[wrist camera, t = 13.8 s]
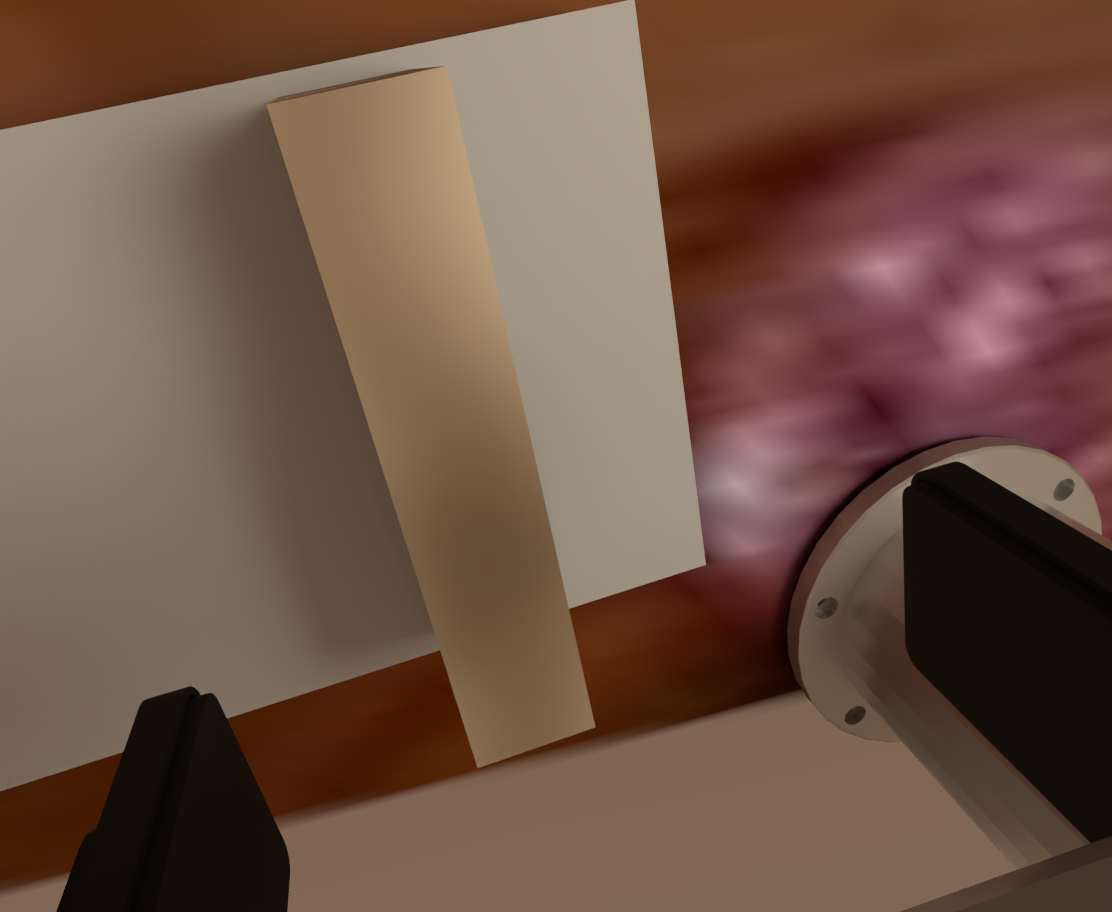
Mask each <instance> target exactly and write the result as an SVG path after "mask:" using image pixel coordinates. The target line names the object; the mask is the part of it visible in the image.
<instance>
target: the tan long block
mask: <svg viewBox="0 0 1112 912" xmlns="http://www.w3.org/2000/svg"><path fill="white" fill-rule="evenodd" d="M266 105H267V109H268V112H269V115H270V118H271V121H272V124H273V127H274V131H275V134H276V137H277V140H278V143H279V146H280V149H281V153H282V156H283V159H284V162H285V165H286V168H287V171H288V174H289V178H290V181H291V184H292V187H293V190H294V193H295V196H296V200H297V203H298V206H299V209H300V212H301V215H302V218H303V222H304V225H305V228H306V231H307V234H308V237H309V240H310V244H311V247H312V250H313V253H314V256H315V259H316V262H317V265H318V269H319V272H320V275H321V278H322V281H323V284H324V287H325V291H326V294H327V297H328V300H329V303H330V306H331V309H332V313H333V316H334V319H335V322H336V325H337V328H338V331H339V334H340V338H341V341H342V344H343V347H344V350H345V353H346V356H347V360H348V363H349V366H350V369H351V372H352V375H353V378H354V382H355V385H356V388H357V391H358V394H359V397H360V400H361V404H362V407H363V410H364V413H365V416H366V419H367V422H368V425H369V429H370V432H371V435H372V438H373V441H374V444H375V447H376V451H377V454H378V457H379V460H380V463H381V466H382V469H383V473H384V476H385V479H386V482H387V485H388V488H389V491H390V495H391V498H392V501H393V504H394V507H395V510H396V513H397V516H398V520H399V523H400V526H401V529H402V532H403V535H404V538H405V542H406V545H407V548H408V551H409V554H410V557H411V560H412V564H413V567H414V570H415V573H416V576H417V579H418V582H419V585H420V589H421V592H422V595H423V598H424V601H425V604H426V607H427V611H428V614H429V617H430V620H431V623H432V626H433V629H434V633H435V636H436V639H437V642H438V645H439V648H440V651H441V655H442V658H443V661H444V664H445V667H446V670H447V673H448V676H449V680H450V683H451V686H452V689H453V692H454V695H455V698H456V702H457V705H458V708H459V711H460V714H461V717H462V720H463V724H464V727H465V730H466V733H467V736H468V739H469V742H470V745H471V749H472V752H473V755H474V758H475V761H476V764H477V767H478V768H480V767H483V766H485V765H488V764H491V763H494V762H497V761H500V760H503V759H506V758H509V757H511V756H514V755H517V754H520V753H523V752H526V751H529V750H532V749H534V748H537V747H540V746H543V745H546V744H549V743H552V742H555V741H557V740H560V739H563V738H566V737H569V736H572V735H575V734H578V733H580V732H583V731H586V730H589V729H592V728H595V723H594V719H593V714H592V710H591V705H590V701H589V697H588V692H587V688H586V683H585V679H584V674H583V670H582V665H581V661H580V656H579V652H578V647H577V643H576V639H575V634H574V630H573V625H572V621H571V616H570V612H569V607H568V603H567V598H566V594H565V589H564V585H563V581H562V576H561V572H560V567H559V563H558V558H557V554H556V549H555V545H554V540H553V536H552V531H551V527H550V523H549V518H548V514H547V509H546V505H545V500H544V496H543V491H542V487H541V482H540V478H539V473H538V469H537V465H536V460H535V456H534V451H533V447H532V442H531V438H530V433H529V429H528V424H527V420H526V415H525V411H524V407H523V402H522V398H521V393H520V389H519V384H518V380H517V375H516V371H515V366H514V362H513V357H512V353H511V349H510V344H509V340H508V335H507V331H506V326H505V322H504V317H503V313H502V308H501V304H500V299H499V295H498V291H497V286H496V282H495V277H494V273H493V268H492V264H491V259H490V255H489V250H488V246H487V241H486V237H485V233H484V228H483V224H482V219H481V215H480V210H479V206H478V201H477V197H476V192H475V188H474V183H473V179H472V175H471V170H470V166H469V161H468V157H467V152H466V148H465V143H464V139H463V134H462V130H461V125H460V121H459V117H458V112H457V108H456V103H455V99H454V94H453V90H452V85H451V81H450V76H449V72H448V67H447V66H439V67H429V68H418V69H409V70H405V71H400V72H395V73H390V74H386V75H381V76H376V77H372V78H367V79H362V80H358V81H353V82H348V83H344V84H339V85H334V86H330V87H325V88H320V89H316V90H311V91H306V92H301V93H297V94H292V95H287V96H283V97H278V98H276V99H275V100H273V101H271V102H270V103H268V104H266Z"/></svg>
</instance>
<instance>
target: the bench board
mask: <svg viewBox="0 0 1112 912" xmlns="http://www.w3.org/2000/svg"><path fill="white" fill-rule="evenodd" d="M439 66H447V67H448V72H449V76H450V81H451V85H452V90H453V94H454V99H455V103H456V108H457V112H458V117H459V121H460V125H461V130H462V134H463V139H464V143H465V148H466V152H467V157H468V161H469V166H470V170H471V175H472V179H473V183H474V188H475V192H476V197H477V201H478V206H479V210H480V215H481V219H482V224H483V228H484V233H485V237H486V241H487V246H488V250H489V255H490V259H491V264H492V268H493V273H494V277H495V282H496V286H497V291H498V295H499V299H500V304H501V308H502V313H503V317H504V322H505V326H506V331H507V335H508V340H509V344H510V349H511V353H512V357H513V362H514V366H515V371H516V375H517V380H518V384H519V389H520V393H521V398H522V402H523V407H524V411H525V415H526V420H527V424H528V429H529V433H530V438H531V442H532V447H533V451H534V456H535V460H536V465H537V469H538V473H539V478H540V482H541V487H542V491H543V496H544V500H545V505H546V509H547V514H548V518H549V523H550V527H551V531H552V536H553V540H554V545H555V549H556V554H557V558H558V563H559V567H560V572H561V576H562V581H563V585H564V589H565V594H566V598H567V603H568V607H569V608H573V607H576V606H579V605H582V604H585V603H588V602H591V601H594V600H597V599H601V598H604V597H607V596H610V595H613V594H616V593H619V592H622V591H625V590H629V589H632V588H635V587H638V586H641V585H644V584H647V583H650V582H653V581H657V580H660V579H663V578H666V577H669V576H672V575H675V574H678V573H682V572H685V571H688V570H691V569H694V568H697V567H700V566H703V565H706V562H705V554H704V546H703V538H702V530H701V522H700V514H699V506H698V498H697V490H696V483H695V475H694V467H693V459H692V451H691V443H690V435H689V427H688V419H687V411H686V403H685V396H684V388H683V380H682V372H681V364H680V356H679V348H678V340H677V332H676V324H675V317H674V309H673V301H672V293H671V285H670V277H669V269H668V261H667V253H666V245H665V237H664V230H663V222H662V214H661V206H660V198H659V190H658V182H657V174H656V166H655V158H654V151H653V143H652V135H651V127H650V119H649V111H648V103H647V95H646V87H645V79H644V71H643V64H642V56H641V48H640V40H639V32H638V24H637V16H636V8H635V0H628V1H623V2H619V3H614V4H609V5H604V6H599V7H594V8H589V9H585V10H580V11H575V12H570V13H565V14H560V15H556V16H551V17H546V18H541V19H536V20H531V21H526V22H522V23H517V24H512V25H507V26H502V27H497V28H493V29H488V30H483V31H478V32H473V33H468V34H463V35H459V36H454V37H449V38H444V39H439V40H434V41H430V42H425V43H420V44H415V45H410V46H405V47H401V48H396V49H391V50H386V51H381V52H376V53H371V54H367V55H362V56H357V57H352V58H347V59H342V60H338V61H333V62H328V63H323V64H318V65H313V66H308V67H304V68H299V69H294V70H289V71H284V72H279V73H275V74H270V75H265V76H260V77H255V78H250V79H246V80H241V81H236V82H231V83H226V84H221V85H216V86H212V87H207V88H202V89H197V90H192V91H187V92H183V93H178V94H173V95H168V96H163V97H158V98H153V99H149V100H144V101H139V102H134V103H129V104H124V105H120V106H115V107H110V108H105V109H100V110H95V111H91V112H86V113H81V114H76V115H71V116H66V117H61V118H57V119H52V120H47V121H42V122H37V123H32V124H28V125H23V126H18V127H13V128H8V129H3V130H0V791H3V790H6V789H9V788H12V787H15V786H18V785H22V784H25V783H28V782H31V781H34V780H37V779H40V778H43V777H46V776H50V775H53V774H56V773H59V772H62V771H65V770H68V769H71V768H74V767H78V766H81V765H84V764H87V763H90V762H93V761H96V760H99V759H103V758H106V757H109V756H112V755H115V754H118V753H121V752H124V749H125V746H126V743H127V740H128V737H129V734H130V732H131V729H132V726H133V723H134V720H135V717H136V714H137V711H138V709H139V706H140V704H141V703H142V701H144V700H145V699H148V698H151V697H155V696H158V695H162V694H165V693H168V692H172V691H175V690H179V689H182V688H185V687H189V686H192V687H195V688H196V689H197V690H198V691H199V693H200V695H203V694H207V693H213V694H214V695H215V696H216V697H217V699H218V701H219V703H220V705H221V707H222V709H223V711H224V714H225V716H226V718H230V717H233V716H236V715H239V714H243V713H246V712H249V711H252V710H255V709H258V708H261V707H264V706H267V705H271V704H274V703H277V702H280V701H283V700H286V699H289V698H292V697H296V696H299V695H302V694H305V693H308V692H311V691H314V690H317V689H320V688H324V687H327V686H330V685H333V684H336V683H339V682H342V681H345V680H348V679H352V678H355V677H358V676H361V675H364V674H367V673H370V672H373V671H376V670H380V669H383V668H386V667H389V666H392V665H395V664H398V663H401V662H404V661H408V660H411V659H414V658H417V657H420V656H423V655H426V654H429V653H432V652H436V651H439V650H440V648H439V645H438V642H437V639H436V636H435V633H434V629H433V626H432V623H431V620H430V617H429V614H428V611H427V607H426V604H425V601H424V598H423V595H422V592H421V589H420V585H419V582H418V579H417V576H416V573H415V570H414V567H413V564H412V560H411V557H410V554H409V551H408V548H407V545H406V542H405V538H404V535H403V532H402V529H401V526H400V523H399V520H398V516H397V513H396V510H395V507H394V504H393V501H392V498H391V495H390V491H389V488H388V485H387V482H386V479H385V476H384V473H383V469H382V466H381V463H380V460H379V457H378V454H377V451H376V447H375V444H374V441H373V438H372V435H371V432H370V429H369V425H368V422H367V419H366V416H365V413H364V410H363V407H362V404H361V400H360V397H359V394H358V391H357V388H356V385H355V382H354V378H353V375H352V372H351V369H350V366H349V363H348V360H347V356H346V353H345V350H344V347H343V344H342V341H341V338H340V334H339V331H338V328H337V325H336V322H335V319H334V316H333V313H332V309H331V306H330V303H329V300H328V297H327V294H326V291H325V287H324V284H323V281H322V278H321V275H320V272H319V269H318V265H317V262H316V259H315V256H314V253H313V250H312V247H311V244H310V240H309V237H308V234H307V231H306V228H305V225H304V222H303V218H302V215H301V212H300V209H299V206H298V203H297V200H296V196H295V193H294V190H293V187H292V184H291V181H290V178H289V174H288V171H287V168H286V165H285V162H284V159H283V156H282V153H281V149H280V146H279V143H278V140H277V137H276V134H275V131H274V127H273V124H272V121H271V118H270V115H269V112H268V109H267V105H266V104H268V103H270V102H271V101H273V100H275V99H276V98H278V97H283V96H287V95H292V94H297V93H301V92H306V91H311V90H316V89H320V88H325V87H330V86H334V85H339V84H344V83H348V82H353V81H358V80H362V79H367V78H372V77H376V76H381V75H386V74H390V73H395V72H400V71H405V70H409V69H418V68H429V67H439Z"/></svg>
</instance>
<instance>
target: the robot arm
mask: <svg viewBox="0 0 1112 912" xmlns="http://www.w3.org/2000/svg"><path fill="white" fill-rule="evenodd" d="M787 640H788V656H789V659H790V663H791V666H792V669H793V672H794V676H795V679H796V680H797V682H798V683H799V685H800V687H801V688H802V690H803V691H804V693H805V695H806V696H807V698H808V699H809V700H810V701H811V702H812V703H813V704H814V706H815V707H816V708H817V709H818V710H819V711H820V713H821V714H822V715H823V716H824V717H825V718H826V719H827V720H828V721H829V722H831V723H832V724H833V725H835V726H836V727H838V728H839V729H841V730H842V731H844V732H847V733H850V734H853V735H855V736H858V737H861V738H864V739H868V740H877V741H885V742H896V741H902V742H903V743H904V744H905V745H906V747H907V748H908V749H909V750H910V751H911V752H912V753H913V754H914V756H916V758H917V759H918V760H919V761H920V762H921V763H922V764H923V766H924V767H925V768H926V769H927V770H928V771H929V772H930V773H931V775H932V776H933V777H934V778H935V779H936V780H937V781H938V782H939V784H940V785H941V786H942V787H943V788H944V789H945V790H946V791H947V792H948V794H949V795H950V796H951V797H952V798H953V799H954V800H955V801H956V803H957V804H958V805H959V806H960V807H961V808H962V809H963V810H964V812H965V813H966V814H967V815H968V816H969V817H970V818H971V819H972V820H973V821H974V823H975V824H976V825H977V826H978V827H979V828H980V829H981V830H982V832H983V833H984V834H985V835H986V836H987V837H988V838H989V839H990V841H991V842H992V843H993V844H994V845H995V846H996V847H997V848H998V850H999V851H1000V852H1001V853H1002V854H1003V855H1004V856H1005V857H1006V858H1007V860H1008V861H1009V862H1010V863H1011V864H1012V865H1013V866H1014V867H1015V869H1016V870H1015V871H1013V872H1010V873H1007V874H1004V875H1001V876H999V877H996V878H993V879H990V880H988V881H985V882H982V883H979V884H976V885H973V886H971V887H968V888H965V889H962V890H959V891H957V892H954V893H951V894H948V895H945V896H943V897H940V898H937V899H934V900H931V901H929V902H926V903H923V904H920V905H917V906H915V907H912V908H909V909H906V910H904V911H901V912H1112V541H1111V540H1109V539H1107V538H1106V537H1104V536H1102V528H1101V517H1100V513H1099V510H1098V506H1097V503H1096V500H1095V496H1094V494H1093V493H1092V491H1091V489H1090V488H1089V486H1088V485H1087V483H1086V481H1085V480H1084V478H1083V477H1082V475H1081V474H1079V473H1078V472H1077V471H1076V470H1075V469H1074V468H1073V467H1071V466H1070V465H1069V464H1068V463H1067V462H1066V461H1065V460H1063V459H1061V458H1059V457H1057V456H1055V455H1053V454H1051V453H1050V452H1048V451H1046V450H1044V449H1042V448H1040V447H1038V446H1036V445H1033V444H1030V443H1027V442H1023V441H1020V440H1017V439H1014V438H1004V437H987V436H983V437H977V438H970V439H963V440H957V441H952V442H950V443H947V444H944V445H941V446H938V447H935V448H932V449H929V450H926V451H923V452H921V453H920V454H918V455H916V456H914V457H912V458H910V459H908V460H907V461H905V462H903V463H901V464H899V465H897V466H895V467H893V468H892V469H891V470H889V471H888V472H887V473H885V474H884V475H883V476H881V477H880V478H878V479H877V480H876V481H874V482H873V483H872V484H870V485H869V486H868V487H866V488H865V489H864V490H863V491H862V492H861V493H860V494H859V495H858V496H857V497H856V498H855V499H854V500H853V501H852V502H851V503H850V504H849V505H848V506H847V507H846V508H845V509H844V510H843V511H842V512H841V513H840V514H839V515H838V516H837V517H836V519H835V520H834V521H833V523H832V524H831V525H830V527H829V528H828V529H827V531H826V532H825V533H824V534H823V536H822V537H821V538H820V540H819V541H818V542H817V544H816V546H815V548H814V550H813V552H812V553H811V555H810V557H809V559H808V561H807V563H806V565H805V566H804V568H803V570H802V572H801V575H800V578H799V580H798V583H797V586H796V589H795V592H794V595H793V598H792V601H791V606H790V613H789V619H788V626H787ZM289 880H290V864H289V856H288V852H287V848H286V845H285V842H284V840H283V838H282V835H281V833H280V831H279V829H278V827H277V825H276V823H275V820H274V818H273V816H272V814H271V812H270V810H269V808H268V805H267V803H266V801H265V799H264V797H263V795H262V793H261V790H260V788H259V786H258V784H257V782H256V780H255V778H254V776H253V773H252V771H251V769H250V767H249V765H248V763H247V761H246V758H245V756H244V754H243V752H242V750H241V748H240V746H239V743H238V741H237V739H236V737H235V735H234V733H233V731H232V728H231V726H230V724H229V722H228V720H227V718H226V716H225V714H224V711H223V709H222V707H221V705H220V703H219V701H218V699H217V697H216V696H215V695H214V694H213V693H207V694H203V695H200V693H199V691H198V690H197V689H196V688H195V687H192V686H189V687H185V688H182V689H179V690H175V691H172V692H168V693H165V694H162V695H158V696H155V697H151V698H148V699H145V700H144V701H142V703H141V704H140V706H139V709H138V711H137V714H136V717H135V720H134V723H133V726H132V729H131V732H130V734H129V737H128V740H127V743H126V746H125V749H124V752H123V755H122V757H121V760H120V763H119V766H118V769H117V772H116V775H115V778H114V780H113V783H112V786H111V789H110V792H109V795H108V798H107V800H106V803H105V806H104V809H103V812H102V815H101V818H100V821H99V823H98V826H97V828H96V829H93V830H92V831H91V832H90V833H89V834H87V835H86V836H85V838H84V840H83V842H82V844H81V846H80V848H79V851H78V854H77V856H76V859H75V862H74V865H73V867H72V870H71V873H70V876H69V878H68V881H67V884H66V887H65V889H64V892H63V895H62V898H61V900H60V903H59V906H58V909H57V912H287V906H288V893H289Z"/></svg>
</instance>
